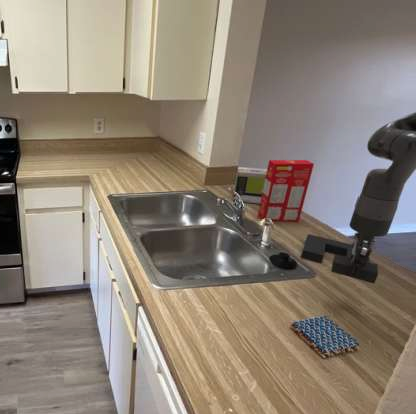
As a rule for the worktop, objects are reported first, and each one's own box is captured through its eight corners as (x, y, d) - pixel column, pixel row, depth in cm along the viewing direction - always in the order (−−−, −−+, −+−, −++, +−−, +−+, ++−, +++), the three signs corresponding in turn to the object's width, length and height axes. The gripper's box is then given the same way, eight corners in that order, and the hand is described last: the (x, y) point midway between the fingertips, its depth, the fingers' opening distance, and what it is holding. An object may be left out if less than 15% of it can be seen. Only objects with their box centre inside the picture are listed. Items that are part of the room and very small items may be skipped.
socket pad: (366, 256, 113) (369, 248, 112) (366, 275, 103) (370, 267, 101) (305, 241, 123) (307, 233, 122) (300, 257, 112) (302, 249, 111)
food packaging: (292, 216, 143) (306, 160, 133) (298, 221, 138) (314, 163, 128) (257, 216, 143) (269, 159, 133) (262, 221, 138) (275, 163, 128)
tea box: (266, 198, 162) (272, 169, 156) (267, 205, 154) (274, 175, 148) (233, 194, 167) (238, 165, 161) (233, 201, 159) (238, 171, 153)
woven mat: (287, 326, 83) (289, 320, 82) (322, 319, 85) (324, 313, 85) (321, 359, 74) (324, 352, 73) (360, 350, 76) (363, 344, 75)
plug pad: (332, 263, 91) (335, 253, 90) (373, 274, 86) (377, 264, 85) (331, 271, 87) (334, 262, 86) (374, 283, 82) (378, 273, 81)
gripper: (396, 227, 72) (371, 291, 79) (391, 206, 83) (370, 263, 90) (353, 219, 76) (333, 280, 83) (354, 200, 87) (336, 255, 94)
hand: (352, 271), depth 86 cm, fingers closed on plug pad, 5 cm apart
